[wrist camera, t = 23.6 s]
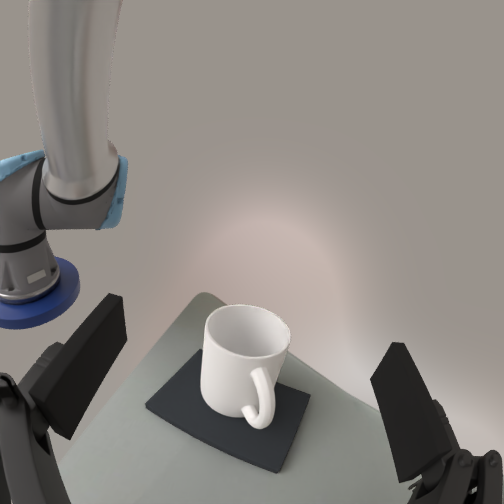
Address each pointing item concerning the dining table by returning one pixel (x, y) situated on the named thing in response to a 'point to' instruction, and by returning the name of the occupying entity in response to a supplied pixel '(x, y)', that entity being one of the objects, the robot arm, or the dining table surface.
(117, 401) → the dining table surface
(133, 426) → the dining table surface
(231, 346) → the mug
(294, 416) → the placemat
